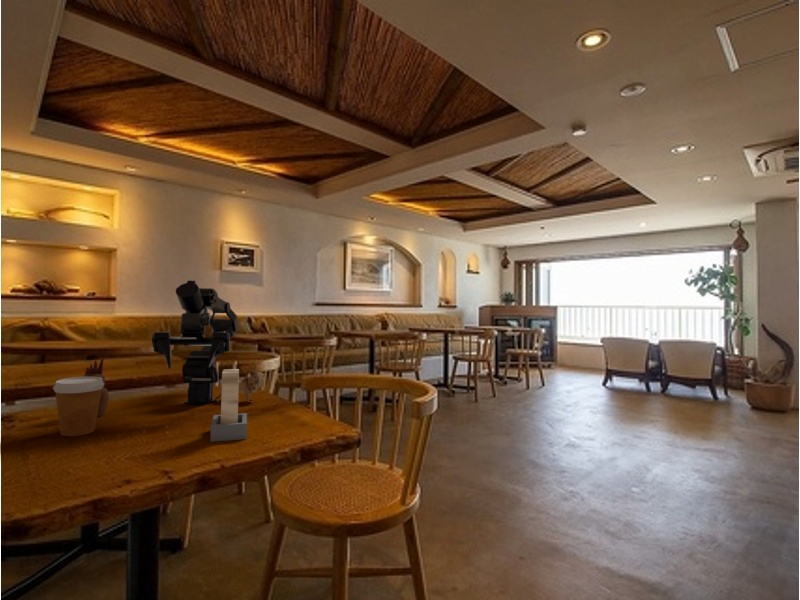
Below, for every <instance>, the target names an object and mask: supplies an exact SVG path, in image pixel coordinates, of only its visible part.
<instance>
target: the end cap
mask: <svg viewBox="0 0 800 600" xmlns="http://www.w3.org/2000/svg"><path fill="white" fill-rule="evenodd" d="M247 425H248V413H245V412H244V413H238V421H237V423H230V424H221V414H214V415H213V417H212V420H211V423H210V441H209V442H222V441H223V442H224V441H235V440H236V441H237V440H240V441H241V440H247V432H248V431H247V427H248V426H247Z"/></svg>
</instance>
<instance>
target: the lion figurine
mask: <svg viewBox="0 0 800 600" xmlns="http://www.w3.org/2000/svg"><path fill="white" fill-rule="evenodd" d="M265 383H266V381H265V374H264V373H262V372H258V371H257V372H254V373H252V374H251V375H249V376H247V377H245V378H244V379H242V380H239V388H238V394H240V393H245V397H246V402H247V401H249V400H250V399H252V398H251V397H252V395H253V394H254V393H257V392H258V391H259V390H260V389H262V388H263V387H264V385H265ZM221 397H222V390H221V392H220V393H219V395H218V396H217V397H215V398H214V399H216V400H219V399H221Z"/></svg>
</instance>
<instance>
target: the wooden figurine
mask: <svg viewBox="0 0 800 600" xmlns="http://www.w3.org/2000/svg"><path fill="white" fill-rule="evenodd" d="M82 377H100V378H102V380H103V383H104V384H105V381H106V380H105V379H106V378H105V375H104V358H101V360H100V363H99V365H98V361H97V360H94V364H90V366H87V367H86V369H85V373H84V375H83V376H82ZM109 394H110V393H109V391H108V390H107V388H106V387H104V386H103V388H102V391H101V397H100V403H99V408H98V414H97V418H98V417H101V416H103V415H104V414H105V412H106V411H107V409H108V404H109V401H110V399H109V398H110V395H109Z"/></svg>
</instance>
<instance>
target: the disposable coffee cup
mask: <svg viewBox="0 0 800 600" xmlns="http://www.w3.org/2000/svg"><path fill="white" fill-rule="evenodd" d="M104 386H105V382H104V383H103V380H102V378H100V377H83V376H77V377H67V378H62V379H59V380H56V381H55V384H54V386H52V390H53V391H54V392H55V398H56V406H57V407H56V408H57V415H58V422H59V430H60V431H59V432H60V435H61V436H63V437H75V436H83V435H87V434H91V433H93V432H95V430H96V423H97V419H98V417H97V414H98V408H99V403H100V397H101V391H102V388H103V387H104Z"/></svg>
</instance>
